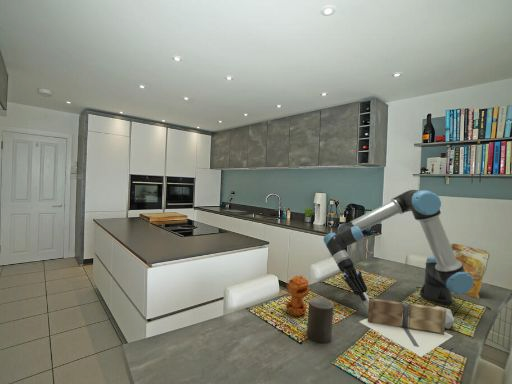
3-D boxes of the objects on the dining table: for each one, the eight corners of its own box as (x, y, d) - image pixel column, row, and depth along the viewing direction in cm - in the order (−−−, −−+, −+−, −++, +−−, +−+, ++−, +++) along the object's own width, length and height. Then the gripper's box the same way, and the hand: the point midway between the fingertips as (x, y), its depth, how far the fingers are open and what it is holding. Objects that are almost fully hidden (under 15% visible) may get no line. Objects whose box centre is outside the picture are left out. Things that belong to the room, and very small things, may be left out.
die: (454, 327, 117) (442, 304, 122) (463, 327, 110) (449, 302, 115) (435, 332, 118) (423, 308, 124) (442, 331, 111) (429, 307, 116)
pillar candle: (317, 345, 98) (320, 307, 97) (302, 331, 106) (304, 296, 106) (336, 339, 102) (339, 302, 102) (320, 326, 111) (322, 292, 110)
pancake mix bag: (450, 285, 167) (453, 242, 165) (485, 298, 149) (490, 250, 148) (443, 286, 164) (447, 243, 163) (479, 300, 147) (484, 251, 145)
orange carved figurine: (308, 320, 115) (311, 281, 114) (284, 316, 117) (286, 278, 116) (308, 308, 126) (310, 272, 125) (286, 305, 128) (288, 269, 127)
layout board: (392, 309, 130) (392, 308, 130) (453, 337, 108) (453, 335, 108) (358, 322, 116) (358, 321, 116) (421, 358, 94) (421, 356, 94)
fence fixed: (402, 328, 112) (404, 304, 112) (401, 325, 114) (402, 302, 114) (445, 335, 109) (447, 310, 108) (442, 332, 111) (444, 308, 110)
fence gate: (400, 325, 114) (402, 302, 114) (401, 327, 112) (403, 304, 112) (367, 319, 117) (368, 297, 117) (368, 322, 115) (369, 299, 115)
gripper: (346, 263, 138) (373, 307, 125) (330, 266, 131) (356, 313, 118) (356, 256, 134) (384, 301, 120) (339, 259, 127) (367, 307, 113)
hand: (370, 307), depth 119 cm, fingers closed
